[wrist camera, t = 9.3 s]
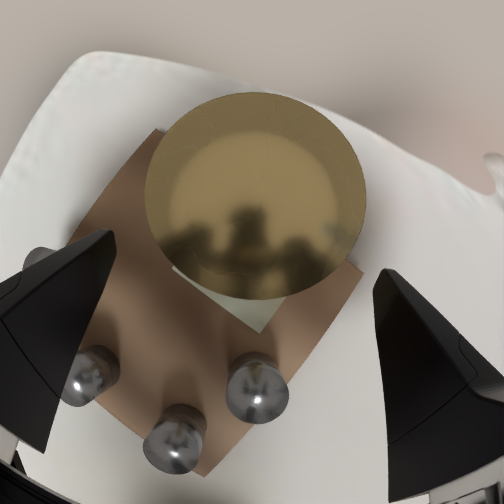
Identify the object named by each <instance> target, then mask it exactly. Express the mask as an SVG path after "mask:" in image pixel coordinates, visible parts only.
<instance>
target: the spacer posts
mask: <svg viewBox="0 0 504 504" xmlns="http://www.w3.org/2000/svg"><path fill="white" fill-rule="evenodd" d="M54 252H56V250H52V249H48V248H45V247H38V248H35V249H33V250H32V251H31V252H30V253H29V254H28V256H27V257H26V259H25V261H24V264H23V269H22V271H23V270H24V269H26V268H27V267H29V266H31V265H33V264H34V263H36V262H38V261H40V260H42V259H43V258H45V257H47V256H49V255H51V254H53V253H54ZM119 378H120V365H119V362H118V359H117V358H116V356H115V355H114V353H113V352H112V351H111V350H109V349H108V348H107V347H105V346H102V345H92V346H89V347H86V348H83V349H79V350H78V351H77V354H76V356H75V359H74V362H73V364H72V367H71V370H70V372H69V375H68V378H67V381H66V383H65V386H64V389H63V392H62V395H61V398H60V399H62V400H63V401H64V402H65V403H67V404H69V405H71V406H75V407H81V406H84V405H86V404H87V403H89V402H90V401H92V400H93V399H95V398H96V397H98V396H99V395H101V394H102V393H104V392H105V391H107V390H108V389H110V388H111V387H112V386H114V385H115V384H116V383H117V382H118V380H119ZM225 399H226V404H227V406H228V409H229V410H230V412H231V413H232V414H233V415H234V416H235V417H236V418H238V419H239V420H241V421H243V422H246V423H250V424H263V423H267V422H270V421H272V420H274V419H276V418H277V417H278V416H280V415H281V413H282V412H283V411H284V410H285V408H286V406H287V404H288V400H289V391H288V387H287V385H286V382H285V380H284V378H283V376H282V374H281V372H280V370H279V368H278V366H277V364H276V362H275V361H274V360H273V359H272V358H271V357H270V356H269V355H267V354H265V353H262V352H256V351H253V352H247V353H244V354H242V355H240V356H239V357H237V358H236V359H235V360H234V362H233V363H232V365H231V367H230V371H229V377H228V382H227V388H226V394H225ZM206 431H207V422H206V419H205V417H204V415H203V414H202V413H201V412H200V411H199V410H198V409H197V408H195V407H193V406H191V405H188V404H173V405H171V406H169V407H168V408H166V409H165V410H164V412H163V413H162V415H161V416H160V418H159V419H158V421H157V422H156V423H155V425H154V426H153V428H152V429H151V431H150V432H149V434H148V435H147V437H146V438H145V440H144V443H143V451H144V454H145V456H146V458H147V459H148V461H149V462H150V463H151V464H152V465H153V466H154V467H156V468H157V469H159V470H161V471H163V472H166V473H169V474H185V473H188V472H190V471H192V470H193V469H194V468H195V467H196V466H197V464H198V461H199V457H200V453H201V450H202V446H203V442H204V438H205V435H206Z"/></svg>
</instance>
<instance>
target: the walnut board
mask: <svg viewBox="0 0 504 504" xmlns="http://www.w3.org/2000/svg"><path fill="white" fill-rule="evenodd" d="M164 136H165V134H164V133H162V132H160V131H159V130H157V129H155V130H154V131H153V132H152V133H151V134H150V135H149V137H148V138H147V139H146V140H145V141H144V142H143V143H142V144H141V146H140V147H139V148H138V149H137V150H136V151H135V153H134V154H133V155H132V156H131V157H130V159H129V160H128V161H127V162H126V163H125V165H124V166H123V167H122V168H121V169H120V171H119V172H118V173H117V174H116V176H115V177H114V178H113V180H112V181H111V182H110V183H109V185H108V186H107V187H106V189H105V190H104V191H103V193H102V194H101V195H100V197H99V198H98V199H97V201H96V202H95V204H94V205H93V206H92V208H91V209H90V211H89V212H88V213H87V215H86V216H85V218H84V219H83V221H82V222H81V224H80V225H79V226H78V228H77V229H76V231H75V233H74V234H73V236H72V237H71V239H70V240H69V242H68V243H67V245H66V246H68V245H70V244H71V243H73V242H75V241H77V240H79V239H81V238H83V237H85V236H87V235H89V234H91V233H93V232H95V231H97V230H99V229H102V228H104V229H111V230H113V232H114V236H115V242H116V247H117V255H116V258H115V261H114V264H113V266H112V269H111V272H110V274H109V277H108V280H107V283H106V286H105V288H104V291H103V294H102V296H101V298H100V300H99V302H98V305H97V307H96V309H95V311H94V313H93V316H92V318H91V320H90V322H89V325H88V327H87V329H86V332H85V334H84V337H83V339H82V341H81V344H80V346H79V349H83V348H86V347H89V346H92V345H102V346H105V347H107V348H108V349H109V350H111V351H112V352H113V353H114V355H115V356H116V358H117V359H118V362H119V365H120V378H119V380H118V382H117V383H116V384H115V385H114V386H112V387H111V388H110V389H108V390H107V391H105V392H104V393H102V394H101V395H99V396H98V397H96V398H95V399H94V400H95V401H96V402H98V403H99V404H100V405H101V406H102V407H103V408H105V409H106V410H107V411H108V412H109V413H111V414H112V415H113V416H114V417H115V418H117V419H118V420H119V421H120V422H122V423H123V424H124V425H125V426H127V427H128V428H129V429H131V430H132V431H133V432H135V433H136V434H137V435H139V436H140V437H141V438H143V439H144V440H145V438H146V437H147V435H148V434H149V432H150V431H151V429H152V428H153V426H154V425H155V423H156V422H157V421H158V419H159V418H160V416H161V415H162V413H163V412H164V410H165V409H166V408H168V407H169V406H171V405H173V404H188V405H191V406H193V407H195V408H197V409H198V410H199V411H200V412H201V413H202V414H203V415H204V417H205V419H206V422H207V431H206V435H205V438H204V442H203V446H202V450H201V453H200V457H199V461H198V464H197V466H196V467H195V468H194V469H193V470H192V471H194V472H196V473H197V474H199V475H201V476H203V477H205V476H206V475H207V474H208V473H209V472H210V471H211V470H212V469H213V468H214V467H215V466H216V465H217V464H218V463H219V462H220V461H221V460H222V459H223V458H224V457H225V456H226V455H227V454H228V453H229V451H230V450H231V449H232V448H233V447H234V446H235V445H236V444H237V443H238V442H239V441H240V439H241V438H242V437H243V436H244V435H245V434H246V433H247V432H248V431H249V429H250V428H251V427H252V426H253V425H254V424H250V423H246V422H243V421H241V420H239V419H238V418H236V417H235V416H234V415H233V414H232V413H231V412H230V410H229V409H228V406H227V404H226V399H225V394H226V388H227V382H228V377H229V371H230V367H231V365H232V363H233V362H234V360H235V359H236V358H237V357H239V356H240V355H242V354H244V353H247V352H253V351H256V352H262V353H265V354H267V355H269V356H270V357H271V358H272V359H273V360H274V361H275V362H276V364H277V366H278V368H279V370H280V372H281V374H282V376H283V378H284V380H285V382H286V385H287V384H288V382H289V381H290V380H291V378H292V377H293V376H294V375H295V373H296V372H297V371H298V369H299V368H300V367H301V365H302V364H303V363H304V361H305V360H306V359H307V357H308V356H309V355H310V353H311V352H312V350H313V349H314V348H315V346H316V345H317V344H318V342H319V341H320V339H321V338H322V336H323V335H324V334H325V332H326V331H327V329H328V328H329V326H330V325H331V323H332V322H333V321H334V319H335V318H336V316H337V315H338V313H339V312H340V310H341V309H342V307H343V306H344V304H345V303H346V301H347V299H348V298H349V296H350V295H351V293H352V292H353V290H354V289H355V287H356V285H357V284H358V282H359V281H360V279H361V277H362V276H363V274H364V273H363V272H362V271H360V270H359V269H358V268H357V267H355V266H354V265H353V264H351V263H350V262H349V261H347V260H346V259H345V260H344V261H343V262H342V263H341V264H340V265H339V266H338V267H337V268H336V270H334V271H333V272H332V273H331V274H330V275H328V276H327V277H326V278H325V279H323V280H322V281H320V282H319V283H317V284H315V285H314V286H312V287H310V288H308V289H306V290H303V291H301V292H299V293H297V294H293V295H289V296H286V297H282V298H276V299H269V300H246V299H238V298H232V297H228V296H225V295H221V294H218V293H215V292H213V291H211V290H208V289H206V288H204V287H202V286H200V285H199V284H197V283H195V282H194V281H192V280H190V279H189V278H188V277H186V276H185V275H184V274H183V273H182V272H180V271H179V270H178V269H177V268H176V267H175V266H174V265H173V264H172V263H171V262H170V261H169V260H168V258H167V257H166V256H165V254H164V253H163V251H162V250H161V249H160V247H159V246H158V244H157V242H156V240H155V238H154V236H153V234H152V231H151V228H150V225H149V222H148V219H147V214H146V208H145V182H146V175H147V171H148V167H149V164H150V161H151V159H152V156H153V154H154V152H155V150H156V148H157V146H158V145H159V143H160V141H161V140H162V138H163V137H164ZM79 349H78V350H79Z"/></svg>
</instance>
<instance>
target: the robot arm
mask: <svg viewBox="0 0 504 504" xmlns="http://www.w3.org/2000/svg"><path fill="white" fill-rule="evenodd" d="M116 255H117V247H116V242H115V236H114V232H113V230H111V229H104V228H102V229H99V230H97V231H95V232H93V233H91V234H89V235H87V236H85V237H83V238H81V239H79V240H77V241H75V242H73V243H71V244H70V245H68V246H66V247H64V248H62V249H60V250H58V251H56V252H54V253H53V254H51V255H49V256H47V257H45V258H43V259H42V260H40V261H38V262H36V263H34V264H33V265H31V266H29V267H27V268H26V269H24V270H23V271H20V272H19V273H17V274H15V275H14V276H12V277H10V278H8V279H7V280H5V281H3V282H1V283H0V504H80V503H78V502H75V501H73V500H71V499H69V498H67V497H65V496H63V495H61V494H59V493H57V492H55V491H53V490H51V489H49V488H47V487H45V486H44V485H42V484H40V483H38V482H36V481H35V480H33V479H31V478H30V477H28V476H27V475H26V472H25V470H24V467H23V465H22V462H21V459H20V457H19V454H18V451H17V450H16V447H17V445H18V442H19V440H20V441H21V442H23V443H25V444H26V445H28V446H30V447H32V448H33V449H35V450H37V451H39V452H41V453H43V454H44V452H45V449H46V446H47V442H48V438H49V435H50V431H51V428H52V424H53V421H54V417H55V414H56V411H57V408H58V405H59V402H60V398H61V395H62V392H63V389H64V386H65V383H66V381H67V378H68V375H69V372H70V370H71V367H72V364H73V362H74V359H75V356H76V354H77V351H78V349H79V346H80V344H81V341H82V339H83V337H84V334H85V332H86V329H87V327H88V325H89V322H90V320H91V318H92V316H93V313H94V311H95V309H96V307H97V305H98V302H99V300H100V298H101V296H102V294H103V291H104V288H105V286H106V283H107V280H108V277H109V274H110V272H111V269H112V266H113V264H114V261H115V258H116ZM373 303H374V318H375V332H376V339H377V346H378V352H379V359H380V367H381V375H382V383H383V392H384V402H385V413H386V426H387V443H388V501H389V503H392V502H397V501H401V500H405V499H409V498H413V497H417V496H421V495H424V494H428V493H429V504H504V376H503V375H502V374H501V373H500V372H499V371H498V370H497V369H496V368H495V367H493V366H492V365H491V364H490V363H489V362H488V361H487V360H486V359H485V358H484V357H483V356H482V355H481V354H480V353H479V352H478V351H477V350H476V349H475V348H474V347H473V346H472V345H471V344H470V343H469V342H468V341H467V340H466V339H465V338H464V337H463V336H462V335H461V334H459V332H458V330H457V329H456V328H455V327H454V326H453V325H452V324H451V323H450V322H449V321H448V320H447V319H446V318H445V317H444V316H443V315H442V314H441V313H440V312H439V311H438V310H437V309H436V308H435V307H434V306H433V305H431V304H430V303H429V302H428V301H427V300H426V299H425V298H424V297H423V296H422V295H421V294H420V293H419V292H418V291H417V290H416V289H415V288H414V287H413V286H411V285H410V284H409V283H408V282H407V281H406V280H405V279H404V278H403V277H402V276H401V275H400V274H398V273H397V272H396V271H395V270H393V269H386V268H384V269H382V271H381V272H380V274H379V277H378V279H377V281H376V283H375V285H374V287H373Z"/></svg>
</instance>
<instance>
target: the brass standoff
mask: <svg viewBox="0 0 504 504" xmlns="http://www.w3.org/2000/svg"><path fill="white" fill-rule="evenodd" d="M145 208H146V214H147V219H148V222H149V225H150V228H151V231H152V234H153V236H154V238H155V240H156V242H157V244H158V246H159V247H160V249H161V250H162V251H163V253H164V254H165V256H166V257H167V258H168V260H169V261H170V262H171V263H172V264H173V265H174V266H175V267H176V268H177V269H178V270H179V271H180V272H182V273H183V274H184V275H185V276H186V277H188V278H189V279H190V280H192V281H194V282H195V283H197V284H199V285H200V286H202V287H204V288H206V289H208V290H211V291H213V292H215V293H218V294H221V295H225V296H228V297H232V298H238V299H246V300H269V299H276V298H282V297H286V296H289V295H293V294H297V293H299V292H301V291H303V290H306V289H308V288H310V287H312V286H314V285H315V284H317V283H319V282H320V281H322V280H323V279H325V278H326V277H327V276H328V275H330V274H331V273H332V272H333V271H334V270H336V268H337V267H338V266H339V265H340V264H341V263H342V262H343V261H344V260H345V258H346V257H347V255H348V254H349V252H350V251H351V249H352V248H353V246H354V244H355V242H356V240H357V238H358V236H359V234H360V231H361V228H362V224H363V221H364V215H365V209H366V188H365V180H364V176H363V172H362V168H361V165H360V163H359V160H358V158H357V155H356V154H355V152H354V150H353V148H352V146H351V145H350V143H349V142H348V140H347V139H346V137H345V136H344V135H343V133H342V132H341V131H340V130H339V129H338V128H337V127H336V126H335V125H334V124H333V123H332V122H331V121H330V120H328V119H327V118H326V117H325V116H324V115H322V114H321V113H319V112H318V111H316V110H315V109H313V108H311V107H310V106H308V105H306V104H304V103H302V102H299V101H297V100H294V99H291V98H288V97H285V96H281V95H277V94H270V93H260V92H247V93H236V94H231V95H226V96H223V97H219V98H216V99H213V100H211V101H208V102H206V103H204V104H202V105H200V106H198V107H196V108H195V109H193V110H191V111H190V112H188V113H187V114H186V115H184V116H183V117H182V118H181V119H179V120H178V121H177V122H176V123H175V124H174V125H173V126H172V127H171V128H170V129H169V130H168V132H167V133H166V134H165V136H164V137H163V138H162V140H161V141H160V143H159V145H158V146H157V148H156V150H155V152H154V154H153V156H152V159H151V161H150V164H149V167H148V171H147V175H146V182H145Z"/></svg>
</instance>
